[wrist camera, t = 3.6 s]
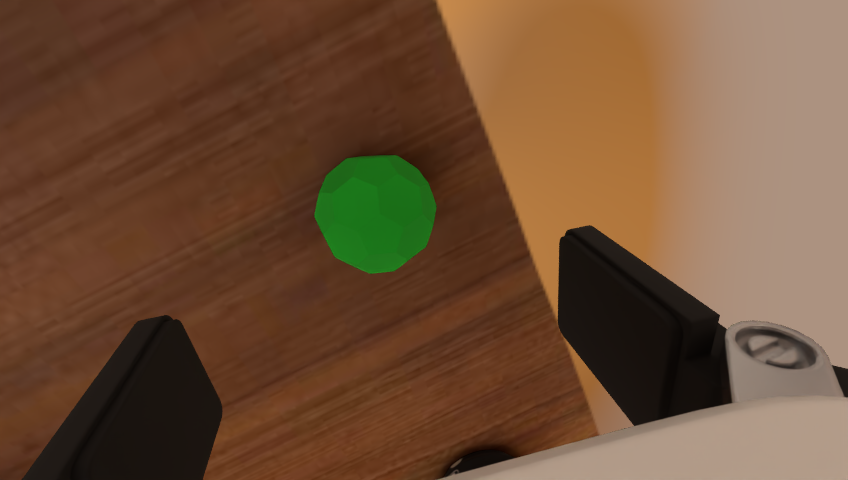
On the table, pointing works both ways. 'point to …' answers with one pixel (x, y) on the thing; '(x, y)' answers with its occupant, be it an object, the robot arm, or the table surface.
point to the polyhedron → (375, 212)
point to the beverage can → (477, 461)
